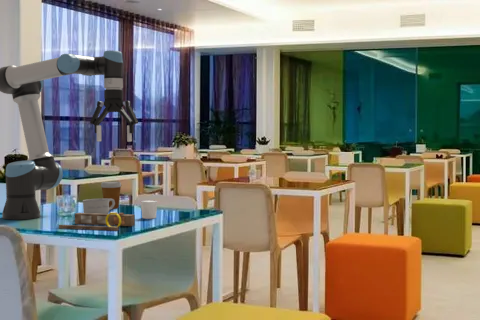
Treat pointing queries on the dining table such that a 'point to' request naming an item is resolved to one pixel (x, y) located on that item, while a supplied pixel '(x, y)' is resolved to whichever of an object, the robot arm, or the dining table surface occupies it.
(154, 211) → the white tapered cup
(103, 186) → the disposable coffee cup
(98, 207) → the teacup
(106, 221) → the yellow ring
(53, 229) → the dining table surface
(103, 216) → the wooden tray
